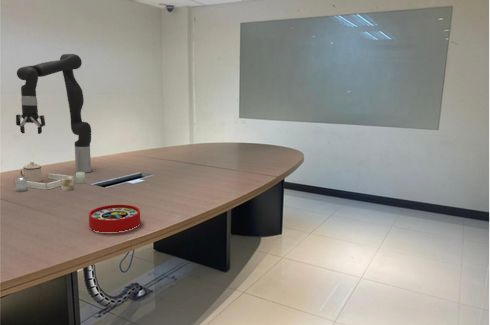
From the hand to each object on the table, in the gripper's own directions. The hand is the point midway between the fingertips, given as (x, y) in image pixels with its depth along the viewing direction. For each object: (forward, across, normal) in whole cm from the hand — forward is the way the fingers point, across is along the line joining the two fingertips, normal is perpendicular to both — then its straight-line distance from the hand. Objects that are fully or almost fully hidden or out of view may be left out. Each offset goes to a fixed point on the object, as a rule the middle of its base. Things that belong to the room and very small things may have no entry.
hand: (31, 133), depth 202 cm
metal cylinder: (+29, 0, -17) cm, 33 cm away
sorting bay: (+29, +8, -2) cm, 30 cm away
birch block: (+29, +22, -14) cm, 39 cm away
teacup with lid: (+29, -3, +3) cm, 29 cm away
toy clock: (+29, +59, -68) cm, 94 cm away
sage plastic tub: (+29, +25, +2) cm, 38 cm away
